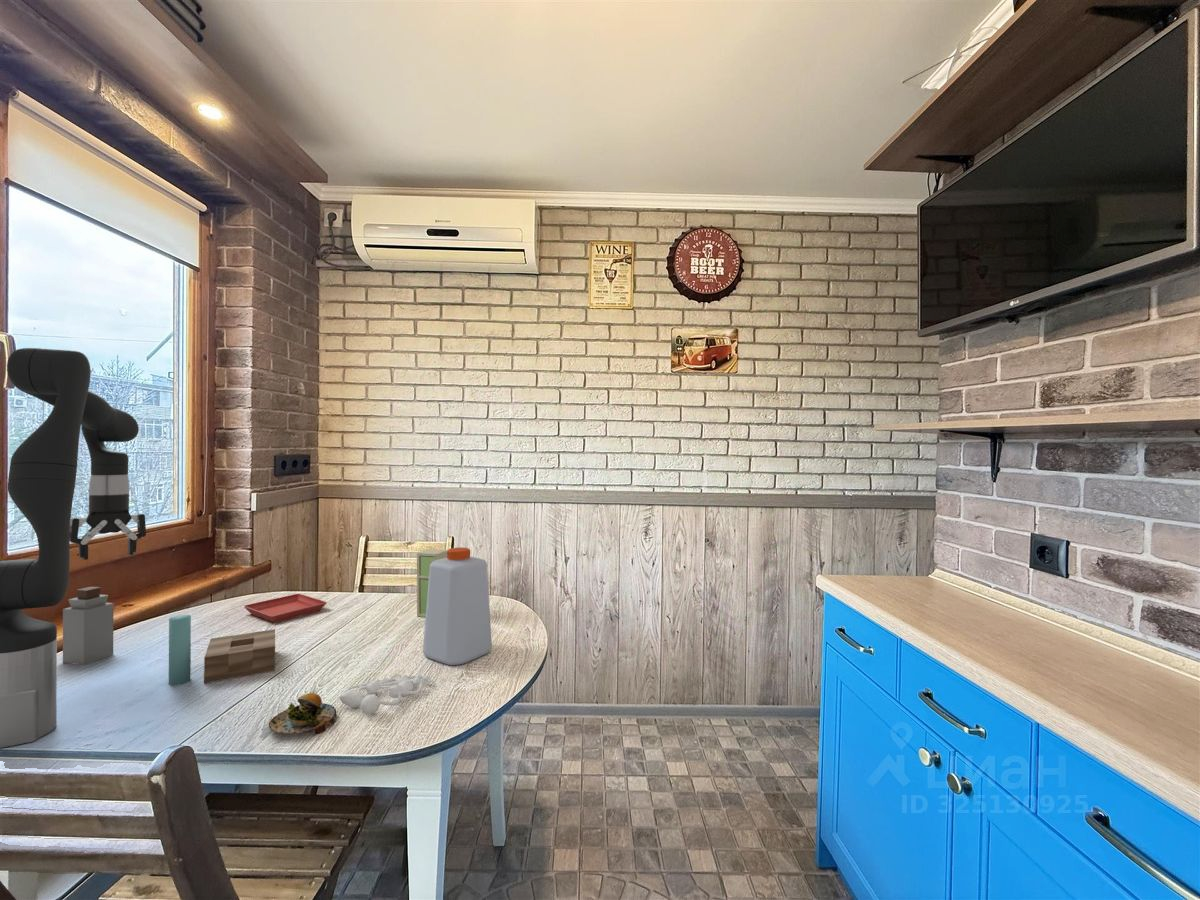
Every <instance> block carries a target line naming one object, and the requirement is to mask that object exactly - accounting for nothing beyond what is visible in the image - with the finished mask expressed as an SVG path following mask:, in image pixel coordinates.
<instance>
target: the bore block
mask: <svg viewBox="0 0 1200 900" xmlns="http://www.w3.org/2000/svg"><path fill="white" fill-rule="evenodd" d="M203 658H204V659H203V660H204V662H203V665H204V666H203V667H204V668H203V669H204V673H203V674H204V675H203V679H204V682H203V683H204V684H207V683H214V682H219V681H220V682H221V681H225V680H230V679H235V678H241V677H243V678H244V677H247V676H254V675H259V674H264V673H270V672H275V671H276V669H275V668H276V629H275V628H274V629H268V630H267V629H266V630H260V631H253V632H247V633H239V634H232V635H227V636H220V637H212V638H210V640H209V643H208V646H207V648H206V651H205V655H204V657H203Z"/></svg>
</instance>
